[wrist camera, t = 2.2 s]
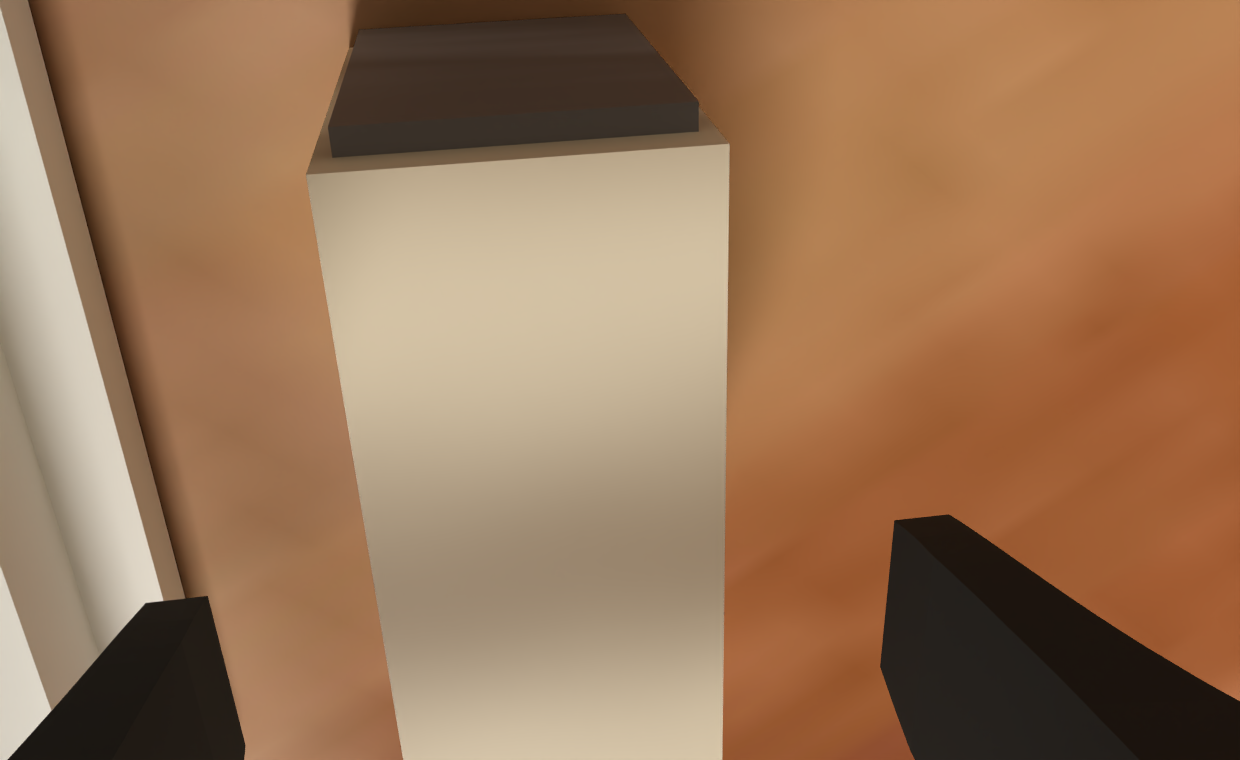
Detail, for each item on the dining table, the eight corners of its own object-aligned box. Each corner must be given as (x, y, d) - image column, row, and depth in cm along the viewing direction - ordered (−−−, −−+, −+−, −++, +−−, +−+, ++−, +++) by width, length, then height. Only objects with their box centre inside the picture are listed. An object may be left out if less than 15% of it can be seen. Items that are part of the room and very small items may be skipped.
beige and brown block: (649, 589, 21) (721, 859, 16) (429, 614, 20) (427, 901, 15) (634, 6, 16) (729, 112, 11) (346, 23, 16) (300, 141, 10)
